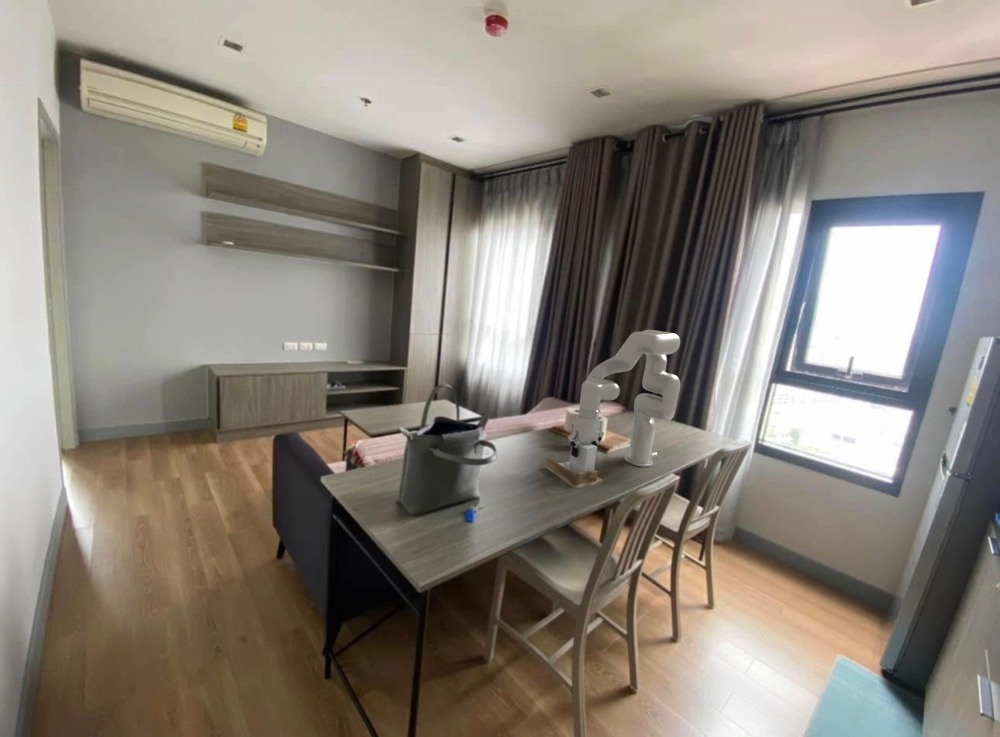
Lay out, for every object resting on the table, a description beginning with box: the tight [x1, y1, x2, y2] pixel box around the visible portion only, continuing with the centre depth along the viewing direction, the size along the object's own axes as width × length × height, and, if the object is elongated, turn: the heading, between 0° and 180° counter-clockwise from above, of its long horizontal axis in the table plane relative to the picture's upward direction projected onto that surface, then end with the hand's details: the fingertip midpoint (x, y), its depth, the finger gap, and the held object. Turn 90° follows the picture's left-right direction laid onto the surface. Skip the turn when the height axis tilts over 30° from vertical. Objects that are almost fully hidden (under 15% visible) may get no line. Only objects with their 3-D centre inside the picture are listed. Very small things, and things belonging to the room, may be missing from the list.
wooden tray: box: [545, 457, 604, 489], centre depth 166 cm, size 14×19×5 cm
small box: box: [568, 441, 598, 475], centre depth 163 cm, size 8×6×13 cm
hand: (583, 454), depth 163 cm, fingers open, 9 cm apart
